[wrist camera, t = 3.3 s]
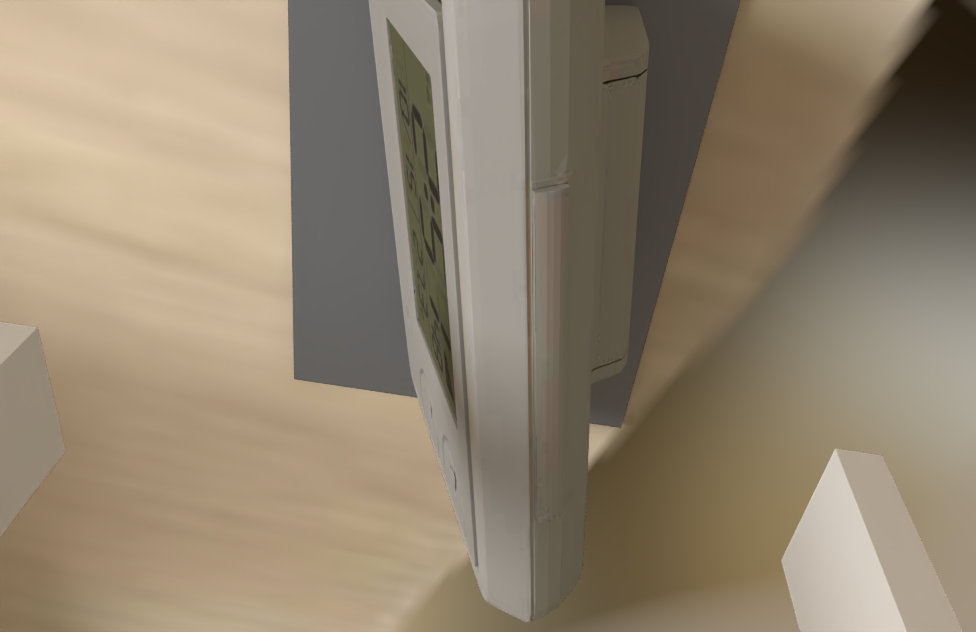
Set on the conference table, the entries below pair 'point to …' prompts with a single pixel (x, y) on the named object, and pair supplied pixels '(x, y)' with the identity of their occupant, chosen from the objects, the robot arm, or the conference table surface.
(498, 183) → the digital clock
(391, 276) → the gray plate
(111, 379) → the conference table surface
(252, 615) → the conference table surface
